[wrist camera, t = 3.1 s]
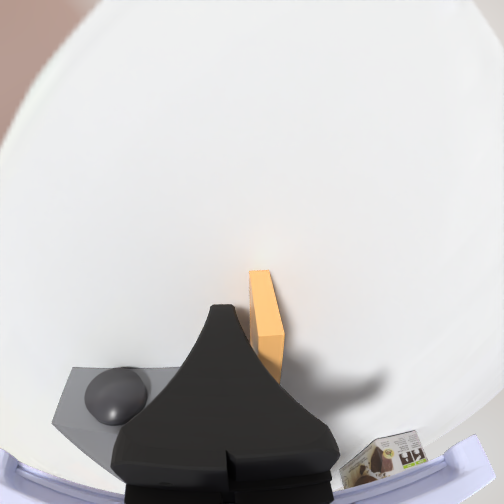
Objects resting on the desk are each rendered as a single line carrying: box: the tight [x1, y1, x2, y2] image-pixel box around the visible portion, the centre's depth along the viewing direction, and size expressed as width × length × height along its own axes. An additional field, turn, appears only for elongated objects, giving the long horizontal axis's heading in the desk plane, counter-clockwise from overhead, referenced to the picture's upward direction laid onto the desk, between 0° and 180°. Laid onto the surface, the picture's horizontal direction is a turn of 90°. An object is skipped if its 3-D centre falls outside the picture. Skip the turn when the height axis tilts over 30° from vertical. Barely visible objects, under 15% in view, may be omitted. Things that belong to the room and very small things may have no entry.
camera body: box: [51, 367, 180, 483], centre depth 15 cm, size 11×10×5 cm
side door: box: [249, 270, 285, 385], centre depth 14 cm, size 16×1×4 cm, turn 0°
